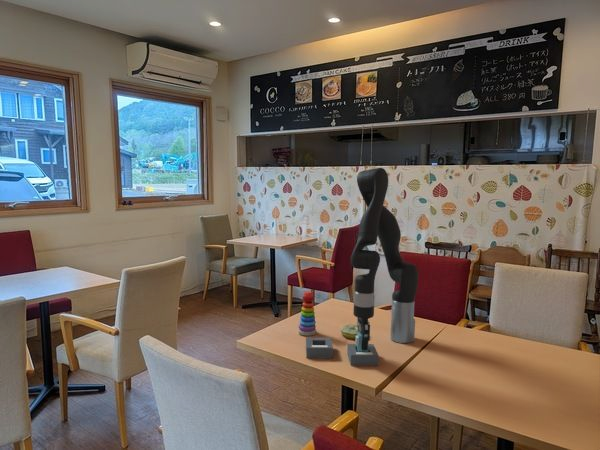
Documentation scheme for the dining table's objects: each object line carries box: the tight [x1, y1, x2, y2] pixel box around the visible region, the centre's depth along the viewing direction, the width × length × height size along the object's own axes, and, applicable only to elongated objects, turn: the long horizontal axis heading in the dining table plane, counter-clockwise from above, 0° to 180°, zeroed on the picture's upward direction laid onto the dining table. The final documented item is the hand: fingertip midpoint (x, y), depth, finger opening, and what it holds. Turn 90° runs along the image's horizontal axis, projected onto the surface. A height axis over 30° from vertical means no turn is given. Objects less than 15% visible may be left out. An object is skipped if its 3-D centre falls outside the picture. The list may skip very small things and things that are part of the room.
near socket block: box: [346, 343, 380, 367], centre depth 153 cm, size 10×10×4 cm
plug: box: [354, 332, 370, 352], centre depth 153 cm, size 4×4×10 cm
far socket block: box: [305, 337, 334, 359], centre depth 159 cm, size 10×10×4 cm
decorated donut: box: [340, 324, 358, 340], centre depth 177 cm, size 10×11×4 cm
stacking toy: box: [297, 290, 317, 337], centre depth 178 cm, size 8×8×19 cm
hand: (362, 345), depth 153 cm, fingers open, 8 cm apart
